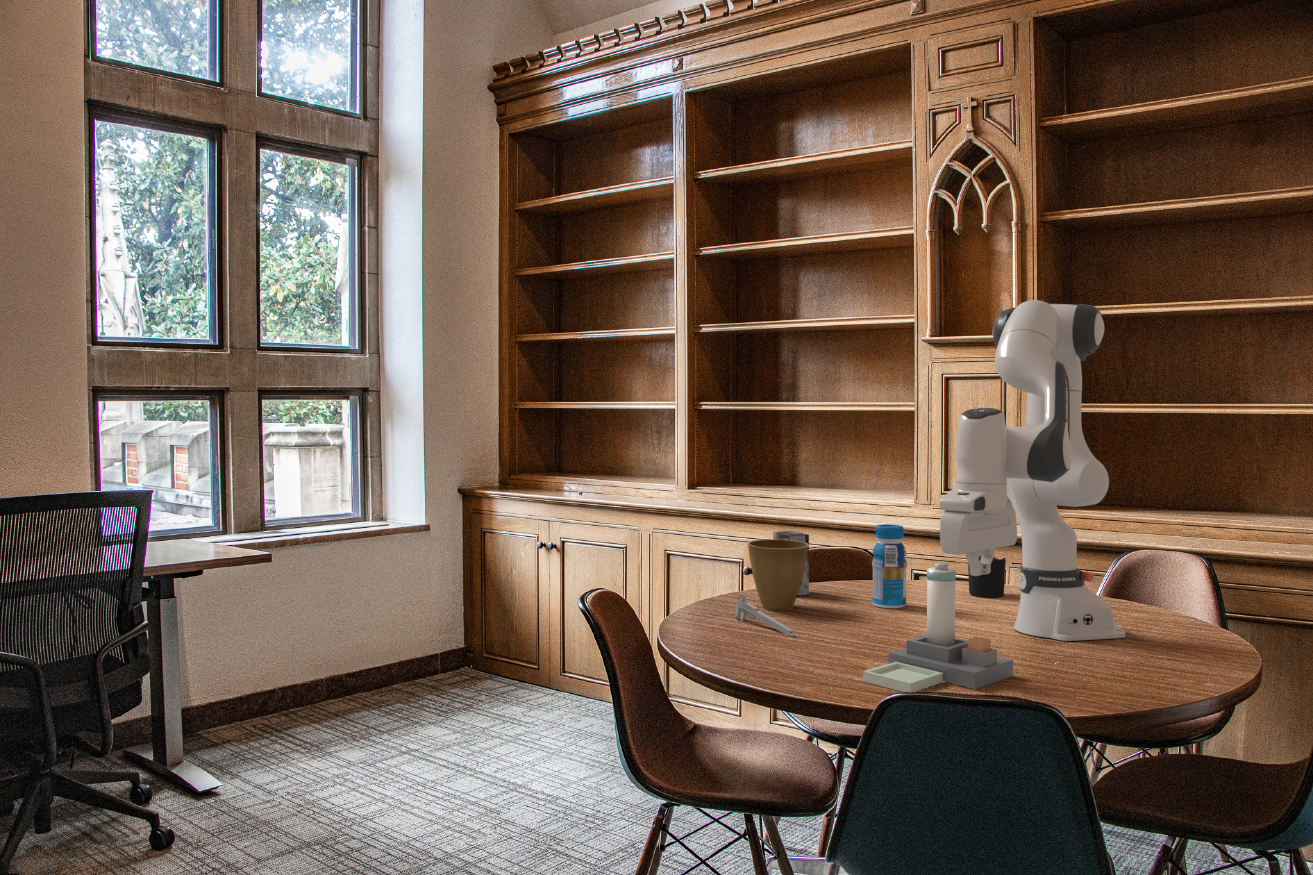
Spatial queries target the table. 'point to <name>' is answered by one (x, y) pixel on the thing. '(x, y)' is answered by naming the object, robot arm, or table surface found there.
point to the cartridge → (941, 605)
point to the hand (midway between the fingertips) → (980, 574)
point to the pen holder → (989, 580)
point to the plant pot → (778, 571)
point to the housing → (955, 662)
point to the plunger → (979, 644)
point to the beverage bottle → (889, 567)
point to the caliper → (758, 616)
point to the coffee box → (805, 538)
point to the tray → (902, 677)
